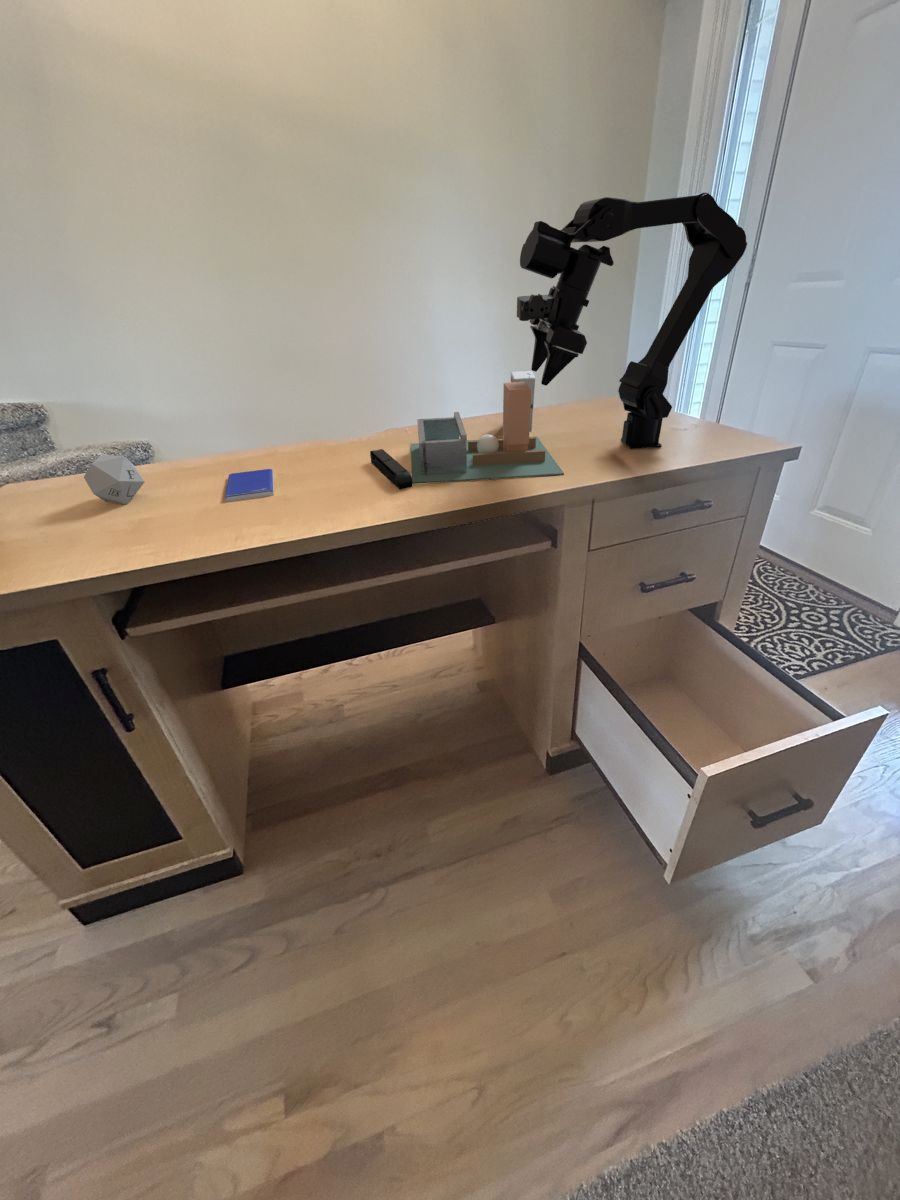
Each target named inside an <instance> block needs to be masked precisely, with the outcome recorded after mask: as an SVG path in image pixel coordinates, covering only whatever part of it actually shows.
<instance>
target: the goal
mask: <svg viewBox="0 0 900 1200" xmlns="http://www.w3.org/2000/svg"><path fill="white" fill-rule="evenodd" d="M416 421H417V422H416V423H417V434H418V443H419V452H420V466H421V475H437V474H454V473H467V452H466V441H467V440H468V439H467V438H468V436H467V435H468V434H467V432H466V429H465V426H464V424H463V421H462V417H461V415H460V412H459V411H455V412H453V416H450V417H449V416H448V417H433V418H417V420H416Z"/></svg>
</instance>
